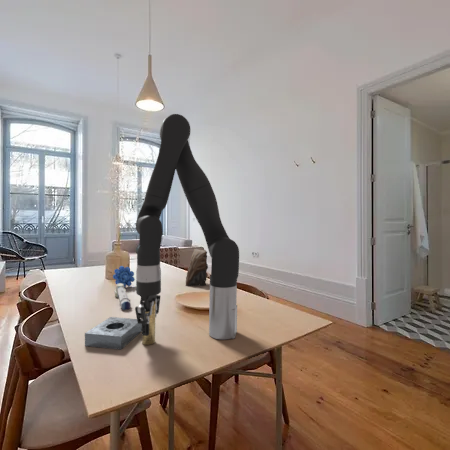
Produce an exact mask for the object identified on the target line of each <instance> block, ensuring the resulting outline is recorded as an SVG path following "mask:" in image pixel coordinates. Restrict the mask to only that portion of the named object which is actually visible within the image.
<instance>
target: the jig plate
mask: <svg viewBox="0 0 450 450" xmlns="http://www.w3.org/2000/svg"><path fill="white" fill-rule="evenodd" d="M140 333H142V324H138V322H137V318H127V317H116V316H109V317H108V318H106V319H105V320H103V321H102V322H100V323H98V324H97V325H96V326H93V328H92V327H91V329H89V330H87V331H86V332H84V346H85V347H92V348H99V349H102V348H103V349H113V350H121V351H122V349H123V348H125V347H126V346H127V345H128V344H129V343H130V342H131V341H132V340H133V339H135V338H136V337H138V335H140Z"/></svg>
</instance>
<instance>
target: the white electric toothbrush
mask: <svg viewBox="0 0 450 450" xmlns="http://www.w3.org/2000/svg"><path fill="white" fill-rule="evenodd" d="M113 292H114V297H115V298H118V300H119V306H120V307H121V309H122V311H125V310H129V309H130V308H131V299H130V298H129V296H128V294H127V293H126V292H127V289H126V288H125V287H124V285H123V284H122V283H119V284H116V285H115V289H114V290H113Z"/></svg>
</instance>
